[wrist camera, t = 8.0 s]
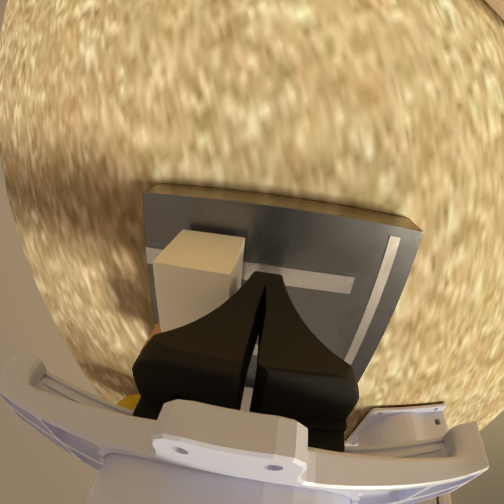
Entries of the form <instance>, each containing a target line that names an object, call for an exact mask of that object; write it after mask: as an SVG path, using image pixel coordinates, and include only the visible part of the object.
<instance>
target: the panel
mask: <svg viewBox="0 0 504 504" xmlns="http://www.w3.org/2000/svg"><path fill="white" fill-rule="evenodd" d="M143 208H144V226H145V240H146V257H147V263H148V272H149V281H150V289H151V297H152V304H153V311H154V318H155V326H156V325H157V323H158V322H159V314H158V307H157V299H156V291H155V282H154V272H153V261H154V260H155V259H156V257H157V256H158V255H159V254H160V253H161V252H162V251H163V250H164V249H165V248H166V247H167V245H168V244H169V243H170V242H171V241H172V240H173V239H174V238H175V237H176V236H177V235H178V234H179V233H180V232H181V231H182V230H183V229H184V230H192V231H199V232H207V233H214V234H222V235H229V236H236V237H244V238H245V244H244V256H243V267H242V279H241V287H242V285H243V284H244V283H245V282H246V281H247V280H248V279H249V277H250V276H251V275H252V273H253V272H255V271H259V272H266V273H273V274H280V275H282V277H283V280H284V284H285V287H286V289H287V292H288V294H289V296H290V298H291V300H292V303H293V305H294V306H295V308H296V310H297V312H298V313H299V315H300V317H301V318H302V320H303V321H304V323H305V324H306V325H307V327H308V328H309V329H310V330H311V332H312V333H313V334H314V335H315V336H316V337H317V338H318V339H319V340H320V341H321V342H322V343H323V344H324V345H325V346H326V347H327V348H328V349H329V350H331V351H332V352H333V353H334V354H335V355H337V356H338V357H340V358H341V359H343V360H344V361H345V362H347V363H348V364H350V365H351V366H352V368H353V371H354V374H355V377H356V380H357V383H358V382H359V380H360V378H361V376H362V374H363V373H364V371H365V369H366V367H367V365H368V364H369V362H370V360H371V358H372V356H373V354H374V352H375V350H376V348H377V346H378V344H379V342H380V340H381V338H382V336H383V334H384V332H385V330H386V328H387V325H388V323H389V321H390V319H391V317H392V314H393V312H394V310H395V308H396V305H397V303H398V300H399V298H400V296H401V293H402V291H403V288H404V286H405V283H406V280H407V278H408V275H409V273H410V270H411V267H412V264H413V261H414V259H415V256H416V253H417V250H418V247H419V244H420V240H421V237H422V234H423V231H422V230H421V229H420V228H419V227H418V226H417V225H415V224H414V223H413V222H412V221H411V220H410V219H409V218H405V217H400V216H396V215H391V214H386V213H381V212H376V211H371V210H365V209H360V208H354V207H349V206H343V205H337V204H331V203H325V202H319V201H313V200H306V199H300V198H293V197H286V196H279V195H271V194H263V193H255V192H247V191H238V190H229V189H220V188H210V187H199V186H188V185H175V184H161V183H160V184H158V185H156V186H154V187H152V188H150V189H148V190H146V191H145V192H143ZM258 336H259V335H258ZM257 353H258V338H257V342H256V345H255V348H254V352H253V355H252V358H251V362H250V365H249V369H248V373H247V378H246V383H245V387H249V388H253V387H254V381H255V376H256V368H257Z"/></svg>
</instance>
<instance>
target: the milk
mask: <svg viewBox="0 0 504 504" xmlns="http://www.w3.org/2000/svg"><path fill="white" fill-rule="evenodd" d="M484 1H485V2H486V3H487V4H488V5H489V6H490V7H491V8H492V9H493V10H494V11H495V12H496V13H497V14H498V15H499V16H500V17H501V18H502V20H503V21H504V0H484Z"/></svg>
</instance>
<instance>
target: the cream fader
mask: <svg viewBox="0 0 504 504" xmlns="http://www.w3.org/2000/svg"><path fill="white" fill-rule="evenodd" d="M244 244H245V238H244V237H236V236H229V235H222V234H214V233H207V232H199V231H192V230H184V229H183V230H182V231H181V232H180V233H179V234H178V235H177V236H176V237H175V238H174V239H173V240H172V241H171V242H170V243H169V244H168V245H167V247H166V248H165V249H164V250H163V251H162V252H161V253H160V254H159V255H158V256H157V257H156V259H155V260H154V261H153V272H154V282H155V291H156V299H157V307H158V314H159V321H160V328H161V333H162V332H166V331H169V330H173V329H176V328H179V327H182V326H184V325H187V324H189V323H191V322H194V321H196V320H198V319H200V318H202V317H203V316H205V315H207V314H209V313H210V312H212V311H213V310H215V309H216V308H218V307H219V306H220V305H222V304H223V303H224V302H225V301H227V300H228V299H229V298H230V297H231V296H232V295H234V294H235V293H236V292H237V291H238V290H239V289H240V288H241V279H242V267H243V256H244Z"/></svg>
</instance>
